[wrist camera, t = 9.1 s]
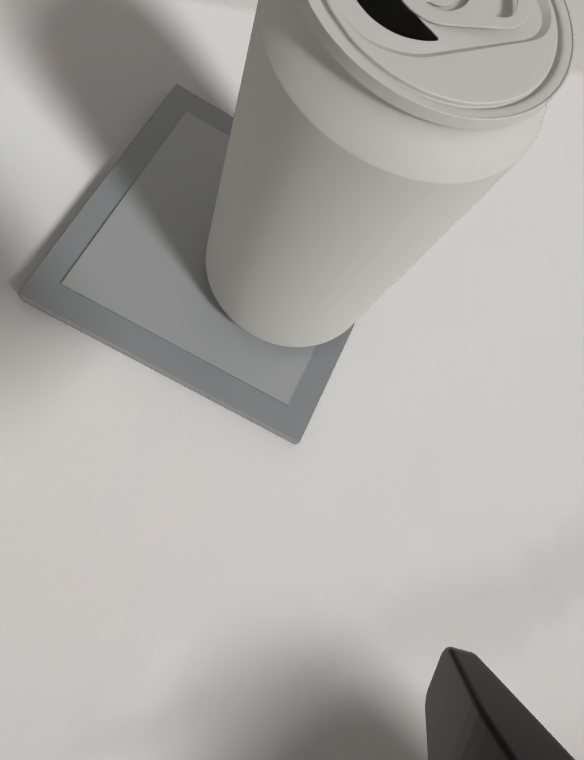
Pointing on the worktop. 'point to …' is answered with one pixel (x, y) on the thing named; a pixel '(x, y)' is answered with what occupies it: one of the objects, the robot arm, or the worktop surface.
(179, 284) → the coaster
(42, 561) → the worktop surface
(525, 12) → the beverage can
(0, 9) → the worktop surface
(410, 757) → the worktop surface
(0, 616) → the worktop surface
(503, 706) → the robot arm
